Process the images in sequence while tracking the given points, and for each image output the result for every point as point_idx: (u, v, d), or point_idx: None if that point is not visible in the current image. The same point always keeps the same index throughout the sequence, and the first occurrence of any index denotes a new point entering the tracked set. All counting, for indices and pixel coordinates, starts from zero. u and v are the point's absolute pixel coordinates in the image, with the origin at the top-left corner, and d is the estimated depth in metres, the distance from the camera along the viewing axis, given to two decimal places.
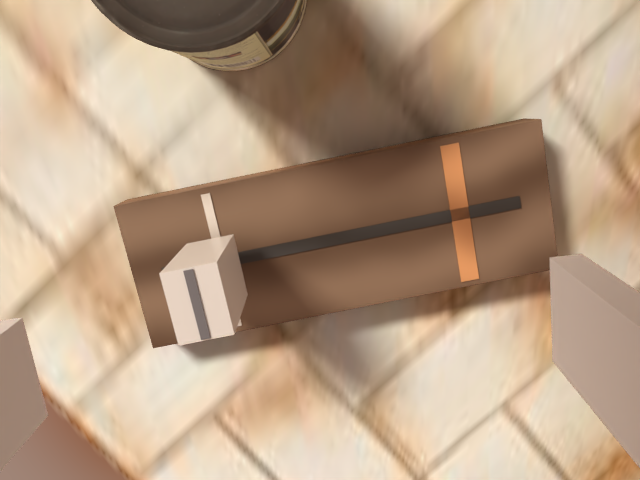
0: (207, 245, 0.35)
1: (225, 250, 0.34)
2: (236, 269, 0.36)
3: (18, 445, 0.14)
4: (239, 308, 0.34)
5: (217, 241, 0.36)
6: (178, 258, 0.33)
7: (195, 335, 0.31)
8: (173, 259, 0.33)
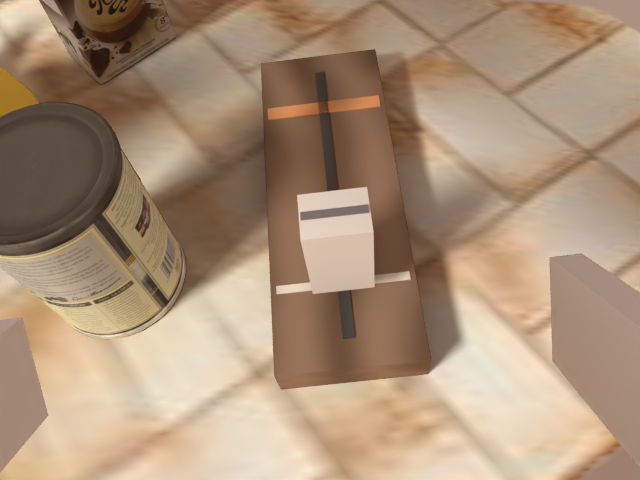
0: None
1: None
2: None
3: (18, 445, 0.14)
4: None
5: None
6: None
7: (364, 217, 0.33)
8: (306, 263, 0.35)
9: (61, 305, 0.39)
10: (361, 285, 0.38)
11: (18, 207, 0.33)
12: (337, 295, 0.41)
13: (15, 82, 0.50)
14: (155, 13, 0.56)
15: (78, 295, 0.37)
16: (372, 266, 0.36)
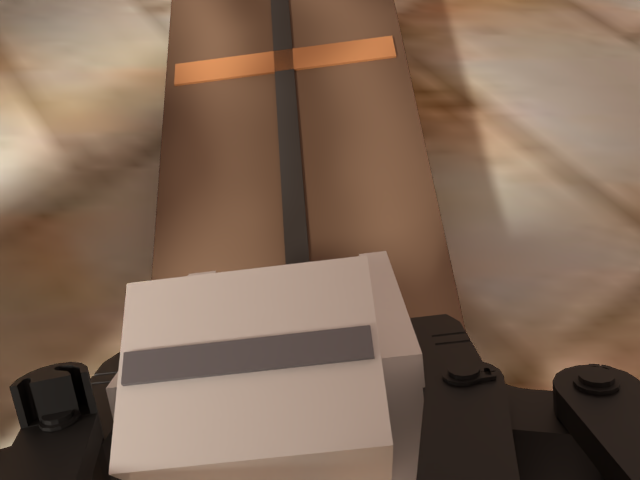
0: None
1: None
2: None
3: None
4: None
5: None
6: None
7: (359, 378, 0.09)
8: None
9: None
10: None
11: None
12: None
13: None
14: None
15: None
16: None
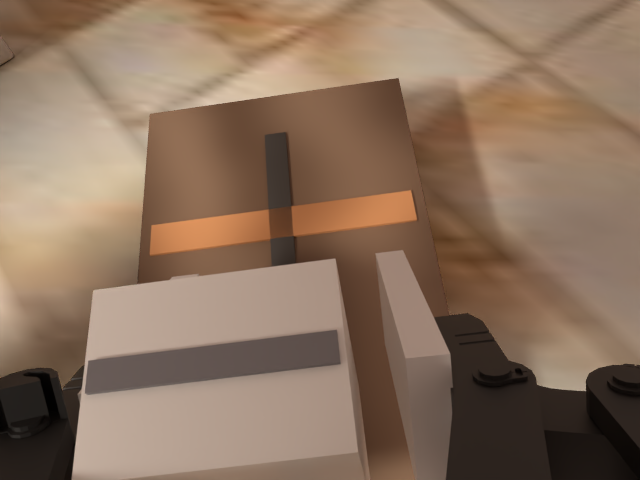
0: None
1: None
2: None
3: None
4: None
5: None
6: None
7: (324, 384, 0.09)
8: None
9: None
10: None
11: None
12: None
13: None
14: None
15: None
16: None
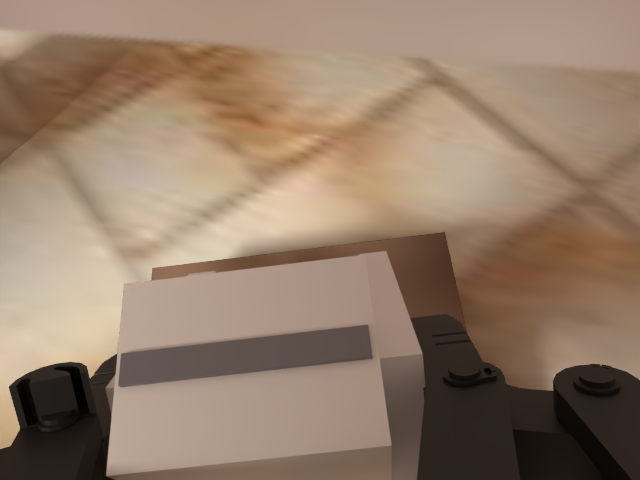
0: None
1: None
2: None
3: None
4: None
5: None
6: None
7: (357, 378, 0.09)
8: None
9: None
10: None
11: None
12: None
13: None
14: None
15: None
16: None
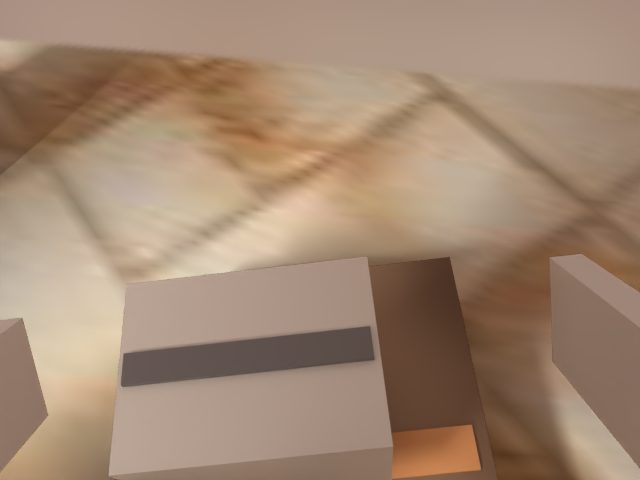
0: None
1: None
2: None
3: (18, 445, 0.14)
4: None
5: None
6: None
7: (359, 379, 0.09)
8: None
9: None
10: None
11: None
12: None
13: None
14: None
15: None
16: None
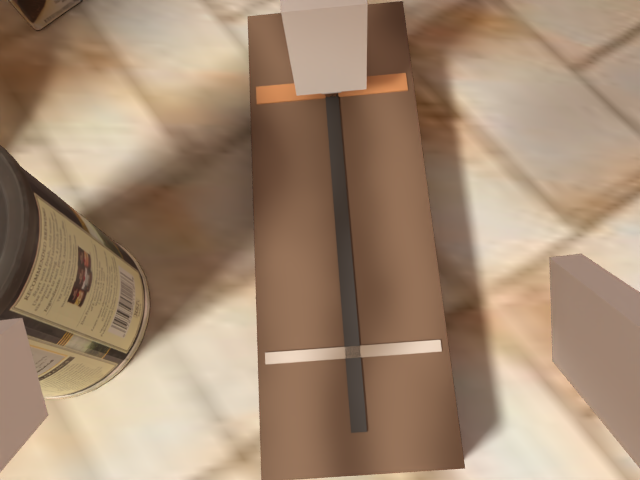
0: None
1: None
2: None
3: (18, 445, 0.14)
4: None
5: None
6: None
7: None
8: (288, 49, 0.30)
9: None
10: (351, 85, 0.34)
11: None
12: (345, 369, 0.31)
13: None
14: None
15: None
16: (364, 57, 0.31)
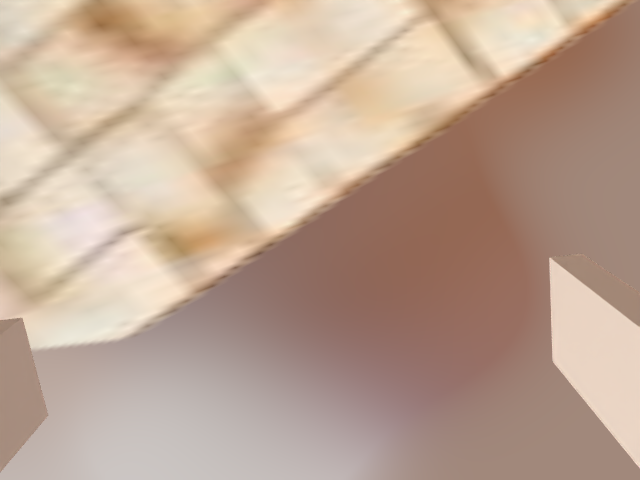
0: None
1: None
2: None
3: (18, 445, 0.14)
4: None
5: None
6: None
7: None
8: None
9: None
10: None
11: None
12: None
13: None
14: None
15: None
16: None
